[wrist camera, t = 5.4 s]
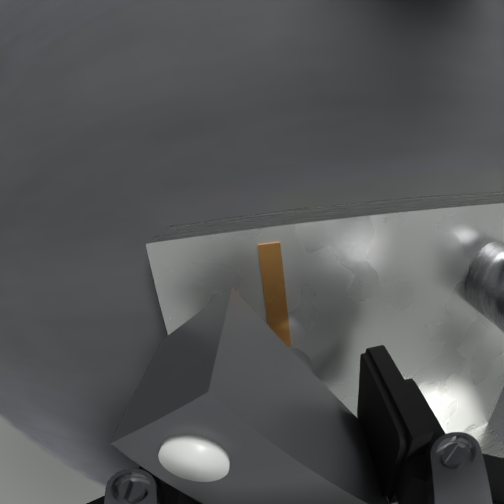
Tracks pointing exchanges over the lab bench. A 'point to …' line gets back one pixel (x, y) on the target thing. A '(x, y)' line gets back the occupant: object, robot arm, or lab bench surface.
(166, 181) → the lab bench surface
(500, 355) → the levelling base
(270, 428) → the block
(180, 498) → the robot arm
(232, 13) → the lab bench surface
